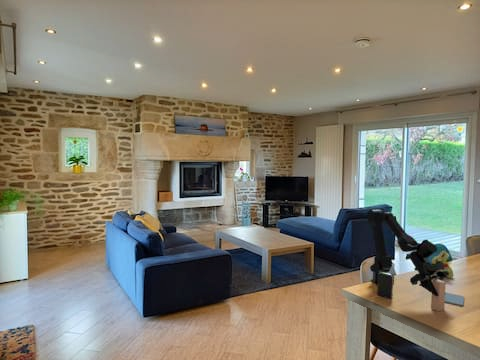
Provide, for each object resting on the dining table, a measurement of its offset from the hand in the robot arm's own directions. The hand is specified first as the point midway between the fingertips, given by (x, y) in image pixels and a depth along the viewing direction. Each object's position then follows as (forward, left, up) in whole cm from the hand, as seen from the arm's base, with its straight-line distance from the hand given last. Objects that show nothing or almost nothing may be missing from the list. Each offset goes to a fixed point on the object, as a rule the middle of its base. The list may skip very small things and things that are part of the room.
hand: (441, 295), depth 144 cm
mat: (+14, +11, -7) cm, 19 cm away
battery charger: (-17, +16, -7) cm, 24 cm away
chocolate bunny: (+31, +44, -7) cm, 54 cm away
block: (0, +1, -7) cm, 7 cm away
